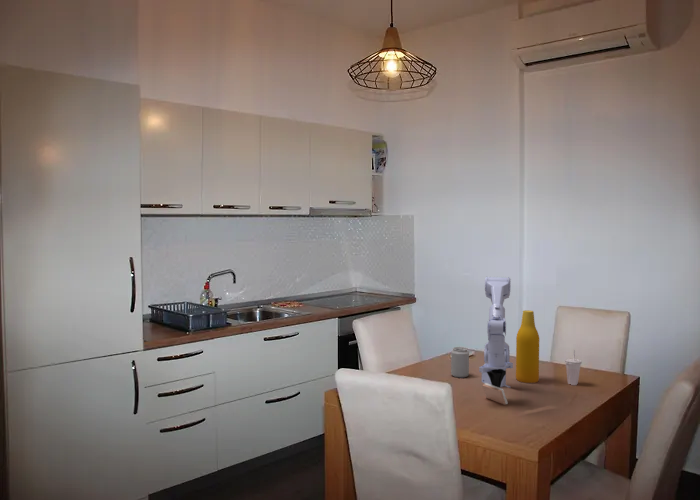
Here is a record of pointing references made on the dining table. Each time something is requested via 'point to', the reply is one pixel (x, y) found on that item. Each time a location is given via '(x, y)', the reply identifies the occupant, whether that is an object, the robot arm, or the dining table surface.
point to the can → (460, 362)
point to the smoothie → (573, 369)
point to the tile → (495, 393)
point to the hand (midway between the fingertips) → (496, 389)
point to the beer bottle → (527, 350)
